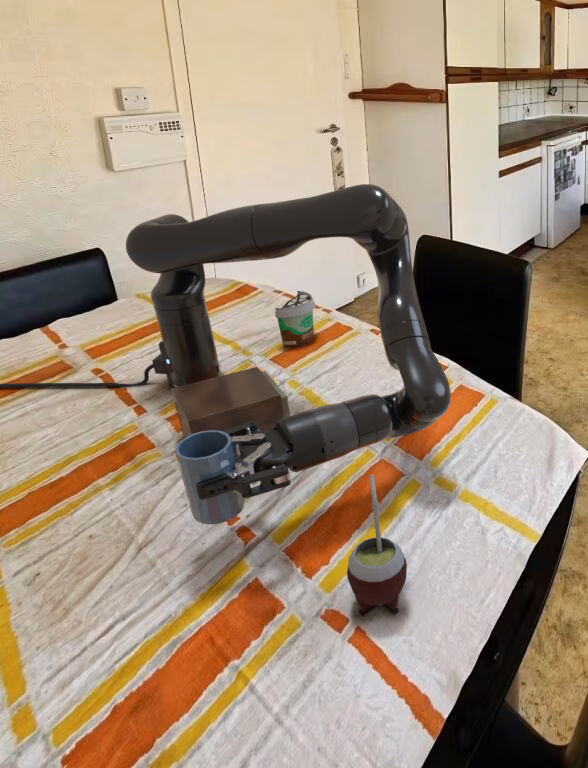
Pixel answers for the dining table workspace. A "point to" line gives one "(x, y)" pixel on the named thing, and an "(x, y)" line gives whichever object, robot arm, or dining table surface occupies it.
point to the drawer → (283, 395)
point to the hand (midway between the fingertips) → (191, 476)
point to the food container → (296, 320)
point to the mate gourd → (377, 568)
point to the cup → (208, 474)
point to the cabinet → (228, 402)
